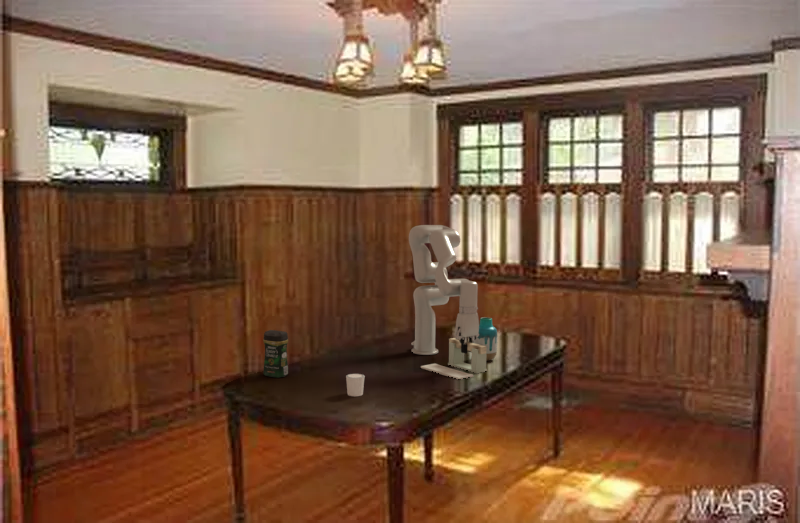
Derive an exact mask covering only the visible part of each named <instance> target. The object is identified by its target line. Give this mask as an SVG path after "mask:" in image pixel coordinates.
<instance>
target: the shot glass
mask: <svg viewBox="0 0 800 523" xmlns="http://www.w3.org/2000/svg"><path fill="white" fill-rule="evenodd" d="M365 377H366V376H365V375H364V374H363V373H362V374H361V373H349V374H347V375H345V378H346V379H345V381H346V389H347V390H346V392H347V396H349V397H361V396H363V395H364V388H365V387H364V385H365Z"/></svg>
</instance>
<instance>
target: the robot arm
mask: <svg viewBox="0 0 800 523" xmlns="http://www.w3.org/2000/svg"><path fill="white" fill-rule="evenodd" d="M408 244H409V247H410V251H411V254H412V261H413V262H412V263H413V273H414V279H415V281H416V282H418V283H421V284H424V283H425V284H426V283H430V284H429V285H421V286H417V287H416V288H415V289H414V291H413V295H412V297H413V302H414V314H415V316H414V318H415V319H414V322H415V323H414V340H413V341H412V342H411V344H410V345H411V346H413V348H412V349H411V353H412V352H413V353H412V354H414V355H423V356H429V355H430V356H432V355H436V354H438V353H439V349H438V348H436V312H435V310H434V309H433V307H432V306H441V305H446V304H448V302H449V300H450V298H451V297H459V308H458V312H459V313H457V316H456V320H455V328H454V329H455V331H454V333H455V334H454V335H455V338H456V339H457V340H459V341H460V343H461V352H462V353H463V354H468V352H469V353H472V352H471V351H467V344H466V342H471V343H474V342H475V339H476V338H477V337H478V336H479V333H478V332H479V324H480V319H479V314H478V310H479V307H478V291H479V290H478V286H479V285H478V283H477V282H476V281H475V280H474V281H472V280H469V279H467V278H449V274H448V269H447V268H448V267H449V266H451V265H453V264H454V263H455V261H456V260H457V255H456V253H455V250H454V248H458V247H459V245H460V244H461V235H460V233H459V232H458V231H457V230H456V229H454V228H451V227H448V226H447V225H442V224H421V225H415V226H413V227H412V228H411V229H410V230H409V234H408ZM426 244H430V245H431V248H432V250H433V253H434V255H435V258H436V260H437V261H436V262H433V261H432V255H431V251H430V249H429V248H428V246H427V245H426ZM431 283H434V285H433V284H432V285H431ZM467 339H468V340H467Z"/></svg>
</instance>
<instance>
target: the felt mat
mask: <svg viewBox="0 0 800 523" xmlns="http://www.w3.org/2000/svg"><path fill="white" fill-rule="evenodd" d="M420 368H421V369H422V370H426V371H429V372H432V371H433V373H435V372H436V374H438V373H439V374H438V375H442V376H445V377H448V376H449V378H451V377H453V378H452V379H454V378H456V379H455V380H458V379H461V380H464V379H463V378H466V379H469V378H468V377H470V378H474V374H472V373H468V372H464V371H461V370H457V369H454V368H453V367H452V368H451V367H448V366H443V365H440V364H438V363H430V364H424V365H420Z"/></svg>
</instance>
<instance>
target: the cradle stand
mask: <svg viewBox="0 0 800 523" xmlns="http://www.w3.org/2000/svg"><path fill="white" fill-rule="evenodd" d="M486 352H487V348H486ZM449 365H451V366H450V367H453V366H454V368H456V367H457V368H456V369H460V368H461V369H460V370H463V369H464V370H463V371H466V370H468V371H467V372H470V371H471V372H470V373H473V372H474V374H481V373H480V372H482V373H486V372H485V371H487V372H488V368H487V361H486V354H478V349H475V348H472V352H471V362H470V363H466V362H465V361H464V353H462V352H461V349H460V348H456V344H455V343H449V342H448V362H447V366H449Z"/></svg>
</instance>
